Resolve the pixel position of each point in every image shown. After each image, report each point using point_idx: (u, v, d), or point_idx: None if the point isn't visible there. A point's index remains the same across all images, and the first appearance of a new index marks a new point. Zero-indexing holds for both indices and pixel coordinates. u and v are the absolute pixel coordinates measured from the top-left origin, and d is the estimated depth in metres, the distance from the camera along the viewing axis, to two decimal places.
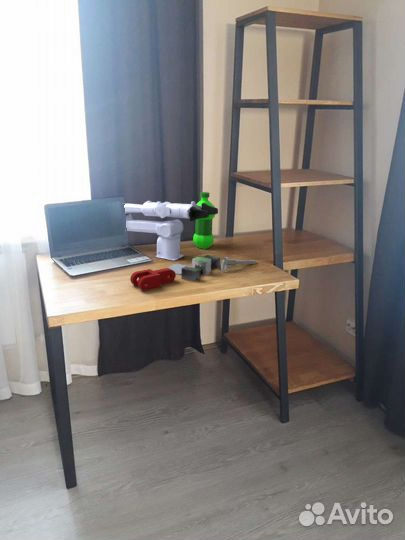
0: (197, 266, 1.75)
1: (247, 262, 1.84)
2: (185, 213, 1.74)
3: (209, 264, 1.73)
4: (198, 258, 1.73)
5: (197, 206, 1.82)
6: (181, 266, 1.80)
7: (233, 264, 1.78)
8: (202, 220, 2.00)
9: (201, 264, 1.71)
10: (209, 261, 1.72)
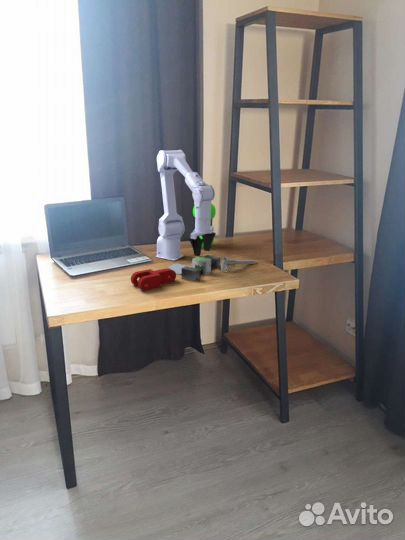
0: (197, 266, 1.75)
1: (247, 262, 1.84)
2: (194, 236, 1.63)
3: (209, 264, 1.73)
4: (198, 258, 1.73)
5: None
6: (181, 266, 1.80)
7: (233, 264, 1.78)
8: None
9: (201, 264, 1.71)
10: (209, 261, 1.72)
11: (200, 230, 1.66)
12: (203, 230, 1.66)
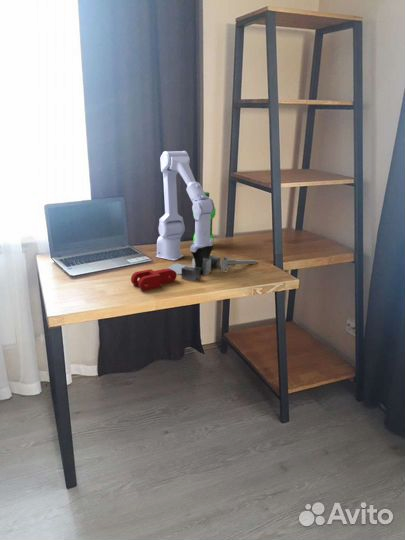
0: None
1: (247, 262, 1.84)
2: (193, 249, 1.65)
3: (209, 264, 1.73)
4: None
5: None
6: (181, 266, 1.80)
7: (233, 264, 1.78)
8: None
9: None
10: (209, 261, 1.72)
11: (200, 243, 1.68)
12: (203, 243, 1.68)
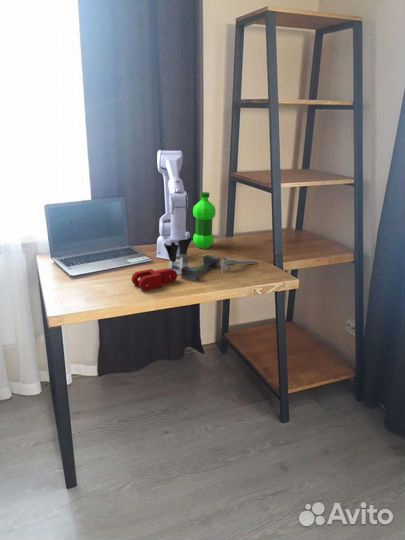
0: (174, 262, 1.77)
1: (247, 262, 1.84)
2: (168, 242, 1.67)
3: (186, 260, 1.75)
4: None
5: None
6: None
7: (233, 264, 1.78)
8: (202, 220, 2.00)
9: (178, 260, 1.73)
10: (186, 257, 1.75)
11: (175, 236, 1.70)
12: (178, 236, 1.70)
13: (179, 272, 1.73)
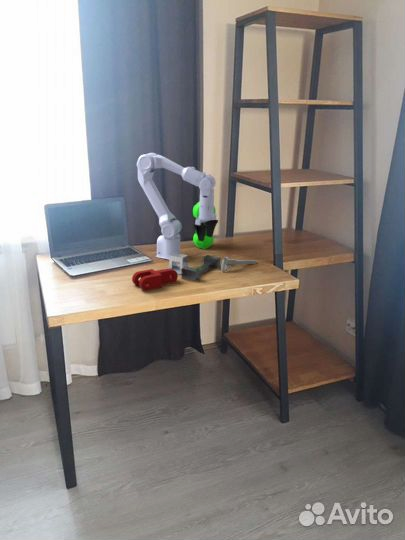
0: (174, 262, 1.77)
1: (247, 262, 1.84)
2: (198, 222, 1.77)
3: (186, 260, 1.75)
4: (175, 254, 1.76)
5: None
6: None
7: (233, 264, 1.78)
8: None
9: (178, 260, 1.73)
10: (186, 257, 1.75)
11: (204, 217, 1.80)
12: (207, 217, 1.80)
13: (179, 272, 1.73)
